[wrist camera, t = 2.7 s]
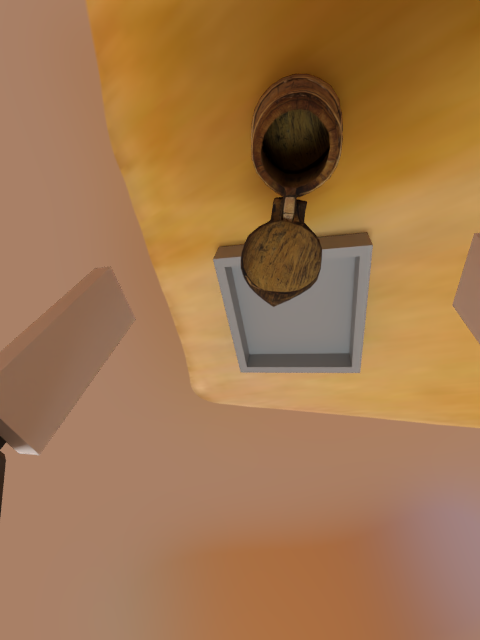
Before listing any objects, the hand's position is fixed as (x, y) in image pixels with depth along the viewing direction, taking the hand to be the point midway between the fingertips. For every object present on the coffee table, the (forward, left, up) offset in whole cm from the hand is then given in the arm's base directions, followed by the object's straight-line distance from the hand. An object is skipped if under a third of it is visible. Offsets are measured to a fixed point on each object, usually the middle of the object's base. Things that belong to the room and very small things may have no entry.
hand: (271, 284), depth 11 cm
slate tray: (+19, -1, -26) cm, 32 cm away
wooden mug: (0, 0, -26) cm, 26 cm away
